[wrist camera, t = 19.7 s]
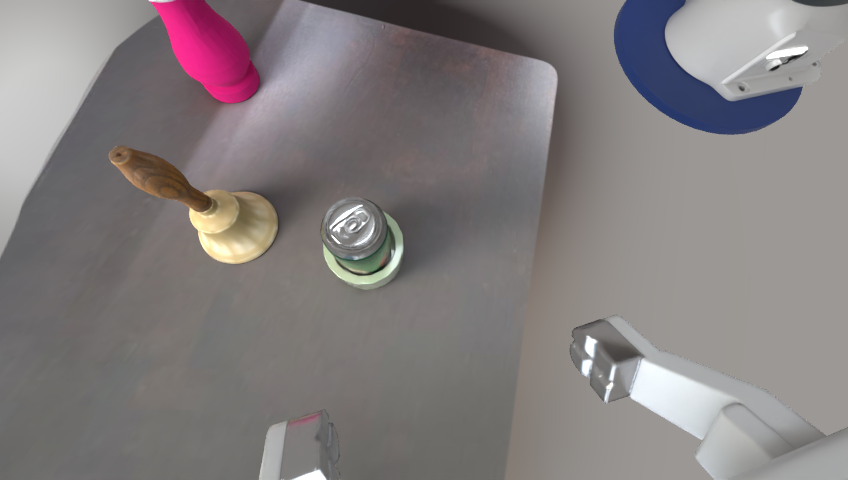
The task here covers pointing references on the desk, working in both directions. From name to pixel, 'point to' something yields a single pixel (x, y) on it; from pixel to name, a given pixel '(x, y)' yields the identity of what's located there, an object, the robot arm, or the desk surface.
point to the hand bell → (206, 207)
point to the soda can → (357, 235)
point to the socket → (379, 277)
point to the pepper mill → (209, 49)
